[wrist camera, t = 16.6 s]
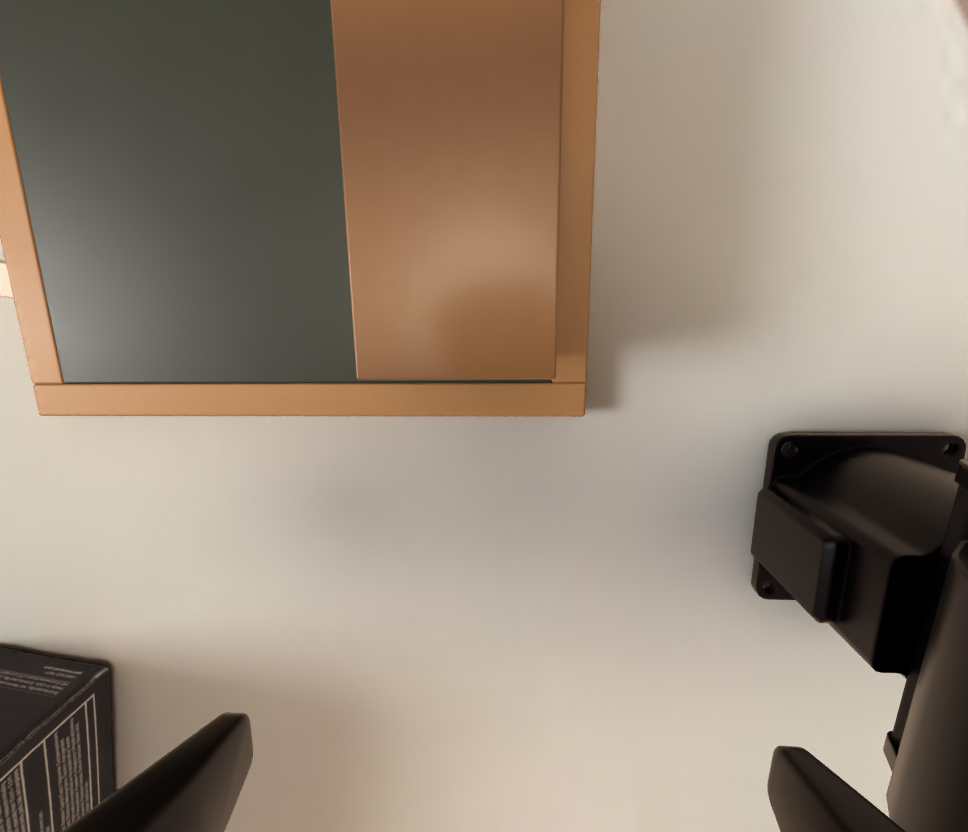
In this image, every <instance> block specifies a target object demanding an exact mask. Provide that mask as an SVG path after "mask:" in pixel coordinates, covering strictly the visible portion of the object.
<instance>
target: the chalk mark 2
mask: <svg viewBox="0 0 968 832" xmlns="http://www.w3.org/2000/svg"><path fill="white" fill-rule="evenodd" d="M0 296H3V297H12V298H13V293H12V289H11V284H10V279H9V275H8V270H7V266H6V263H3V262H0Z"/></svg>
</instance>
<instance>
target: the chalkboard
mask: <svg viewBox="0 0 968 832" xmlns="http://www.w3.org/2000/svg"><path fill="white" fill-rule="evenodd" d="M600 1H601V0H565V13H564V57H563V100H562V143H561V187H560V230H559V273H558V317H557V360H556V378H555V379H553V380H358V379H357V376H356V362H355V347H354V333H353V319H352V304H351V290H350V276H349V261H348V247H347V233H346V218H345V204H344V190H343V175H342V161H341V147H340V132H339V118H338V104H337V89H336V75H335V61H334V46H333V32H332V18H331V3H330V0H0V239H1V243H2V248H3V252H4V257H5V261H6V266H7V270H8V275H9V279H10V284H11V289H12V293H13V298H14V302H15V307H16V311H17V316H18V320H19V325H20V329H21V334H22V338H23V343H24V347H25V352H26V356H27V361H28V365H29V370H30V374H31V379H32V382H33V383H34V384H35V385H34V386H33V387H34V392H35V396H36V401H37V405H38V410H39V414H40V415H42V416H584V415H585V403H586V384H585V382H586V378H587V351H588V324H589V297H590V270H591V243H592V216H593V189H594V163H595V136H596V109H597V82H598V55H599V28H600Z"/></svg>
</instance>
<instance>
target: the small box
mask: <svg viewBox="0 0 968 832" xmlns="http://www.w3.org/2000/svg"><path fill="white" fill-rule="evenodd" d="M113 793H114V790H113V762H112V733H111V703H110V678H109V669H108V668H106V667H105V666H101V665H96V664H88V663H82V662H76V661H70V660H64V659H58V658H53V657H48V656H42V655H37V654H32V653H27V652H21V651H17V650H14V649H7V648H1V647H0V832H61V831H63V830H64V829H65V828H67V827H68V826H70V825H71V824H72V823H74V822H75V821H76V820H78V819H79V818H80V817H82V816H83V815H85V814H86V813H87V812H89V811H90V810H91V809H93V808H94V807H95V806H97V805H98V804H100V803H101V802H102V801H104V800H105V799H106V798H108V797H109V796H110V795H112V794H113Z"/></svg>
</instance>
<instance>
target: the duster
mask: <svg viewBox="0 0 968 832" xmlns="http://www.w3.org/2000/svg"><path fill="white" fill-rule="evenodd" d="M330 3H331V18H332V32H333V46H334V61H335V75H336V89H337V104H338V118H339V132H340V147H341V161H342V175H343V190H344V204H345V218H346V233H347V247H348V261H349V276H350V290H351V304H352V319H353V333H354V347H355V362H356V376H357V379H358V380H553V379H555V378H556V360H557V317H558V273H559V230H560V187H561V143H562V100H563V57H564V13H565V0H330Z"/></svg>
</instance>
